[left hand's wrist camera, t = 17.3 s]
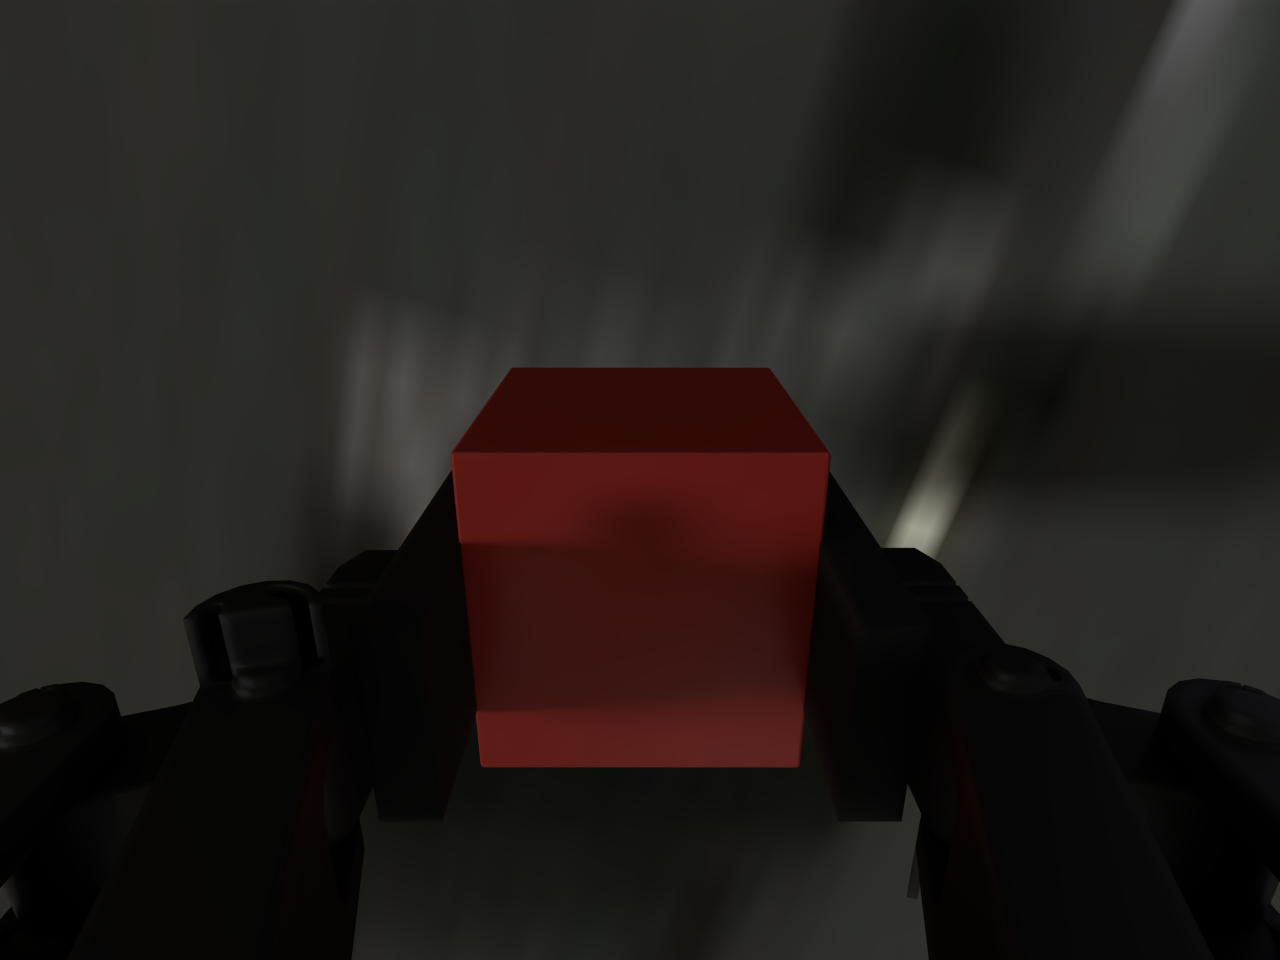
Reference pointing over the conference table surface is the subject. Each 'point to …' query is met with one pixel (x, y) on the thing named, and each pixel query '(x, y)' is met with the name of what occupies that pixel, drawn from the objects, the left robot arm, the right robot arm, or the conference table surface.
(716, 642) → the brick
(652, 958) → the conference table surface
